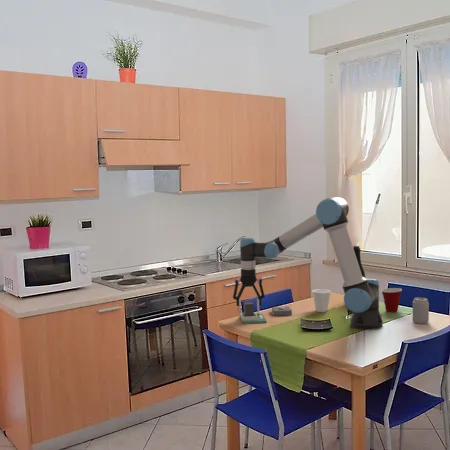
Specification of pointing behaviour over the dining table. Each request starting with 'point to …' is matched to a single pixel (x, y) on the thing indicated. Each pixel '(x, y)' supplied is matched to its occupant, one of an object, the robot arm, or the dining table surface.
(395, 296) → the plastic cup
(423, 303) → the can
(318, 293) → the cup
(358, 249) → the beer bottle
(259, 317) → the board
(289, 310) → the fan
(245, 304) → the plug
